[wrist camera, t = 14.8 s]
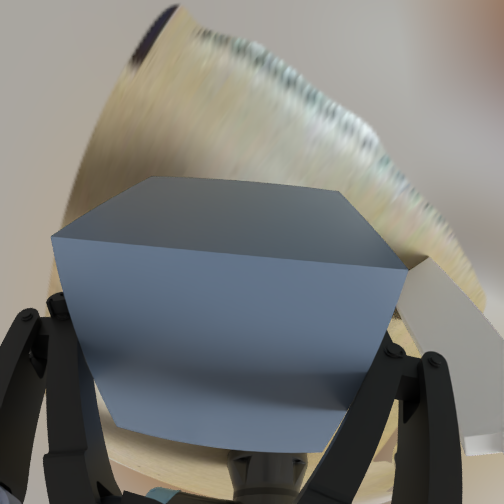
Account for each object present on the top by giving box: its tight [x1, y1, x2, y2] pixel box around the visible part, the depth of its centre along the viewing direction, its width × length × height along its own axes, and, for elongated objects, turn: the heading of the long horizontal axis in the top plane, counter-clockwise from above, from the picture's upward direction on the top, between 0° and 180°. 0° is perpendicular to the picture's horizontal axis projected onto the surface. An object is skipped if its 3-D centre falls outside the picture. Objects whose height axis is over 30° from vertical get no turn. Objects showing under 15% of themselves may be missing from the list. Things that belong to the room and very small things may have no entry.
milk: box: [396, 257, 504, 456], centre depth 18 cm, size 6×6×22 cm
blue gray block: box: [51, 176, 409, 453], centre depth 13 cm, size 10×10×9 cm
